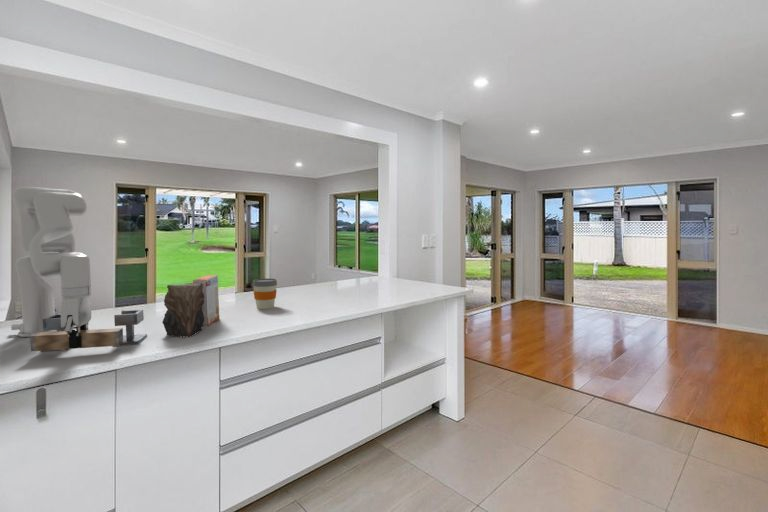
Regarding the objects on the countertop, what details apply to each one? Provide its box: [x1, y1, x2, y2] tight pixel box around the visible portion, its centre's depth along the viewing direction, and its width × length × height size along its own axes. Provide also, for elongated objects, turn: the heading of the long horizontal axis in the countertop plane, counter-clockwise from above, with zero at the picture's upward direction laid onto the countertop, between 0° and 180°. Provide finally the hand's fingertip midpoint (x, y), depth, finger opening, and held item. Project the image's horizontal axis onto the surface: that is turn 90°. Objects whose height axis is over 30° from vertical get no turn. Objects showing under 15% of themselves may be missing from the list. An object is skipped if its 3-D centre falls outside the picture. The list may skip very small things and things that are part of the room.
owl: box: [161, 282, 204, 338], centre depth 149 cm, size 13×13×20 cm
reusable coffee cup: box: [252, 278, 278, 310], centre depth 197 cm, size 13×13×15 cm
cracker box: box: [192, 274, 220, 327], centre depth 164 cm, size 14×6×21 cm, turn 5°
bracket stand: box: [40, 309, 148, 353], centre depth 134 cm, size 29×10×11 cm, turn 108°
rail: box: [29, 327, 124, 352], centre depth 122 cm, size 24×4×5 cm, turn 108°
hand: (79, 344), depth 122 cm, fingers closed on rail, 4 cm apart
